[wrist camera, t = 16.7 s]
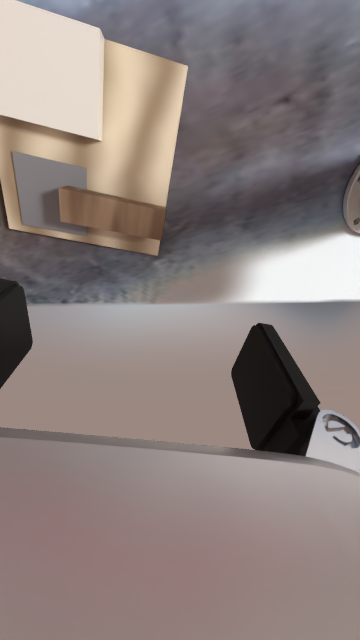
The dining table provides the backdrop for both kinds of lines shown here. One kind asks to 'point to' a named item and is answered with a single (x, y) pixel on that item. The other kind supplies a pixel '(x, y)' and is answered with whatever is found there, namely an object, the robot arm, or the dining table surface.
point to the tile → (51, 70)
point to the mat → (46, 191)
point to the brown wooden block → (111, 212)
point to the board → (110, 142)
